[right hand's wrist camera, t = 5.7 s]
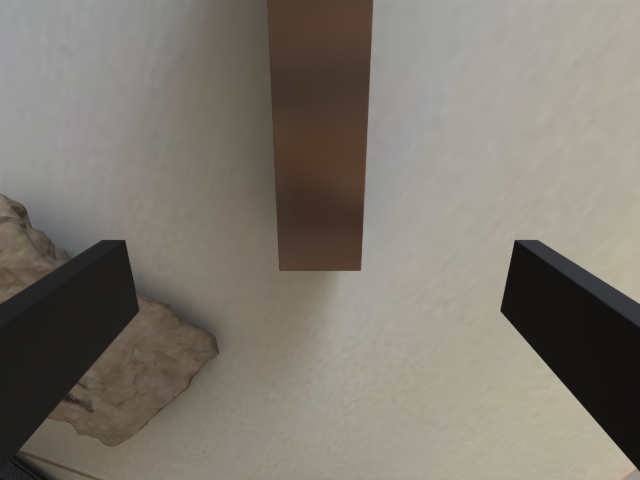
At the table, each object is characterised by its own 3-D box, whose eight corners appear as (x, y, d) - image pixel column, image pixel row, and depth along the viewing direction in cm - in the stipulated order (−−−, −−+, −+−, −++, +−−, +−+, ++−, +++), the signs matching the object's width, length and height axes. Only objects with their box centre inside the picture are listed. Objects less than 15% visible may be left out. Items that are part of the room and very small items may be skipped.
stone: (-106, 323, 29) (-183, 371, 23) (7, 181, 28) (-43, 195, 22) (134, 424, 37) (121, 476, 31) (227, 316, 36) (229, 351, 31)
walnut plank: (350, 228, 29) (361, 271, 22) (289, 228, 29) (279, 271, 22) (368, -316, 19) (400, -594, 11) (272, -316, 19) (240, -594, 11)
